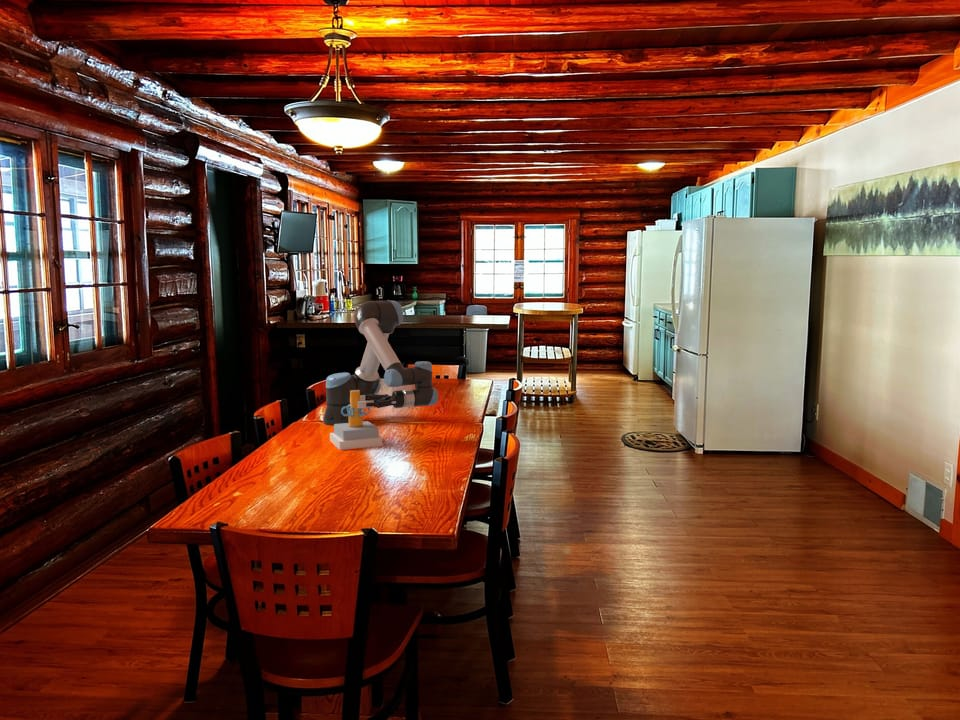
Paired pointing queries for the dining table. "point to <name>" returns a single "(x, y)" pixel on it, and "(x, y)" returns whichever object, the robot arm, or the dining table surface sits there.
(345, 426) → the tower top
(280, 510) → the dining table surface
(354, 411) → the yellow post with rings
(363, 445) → the tower base
